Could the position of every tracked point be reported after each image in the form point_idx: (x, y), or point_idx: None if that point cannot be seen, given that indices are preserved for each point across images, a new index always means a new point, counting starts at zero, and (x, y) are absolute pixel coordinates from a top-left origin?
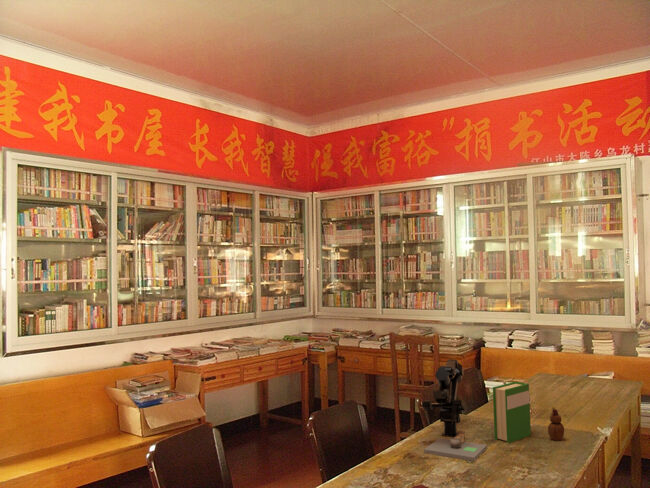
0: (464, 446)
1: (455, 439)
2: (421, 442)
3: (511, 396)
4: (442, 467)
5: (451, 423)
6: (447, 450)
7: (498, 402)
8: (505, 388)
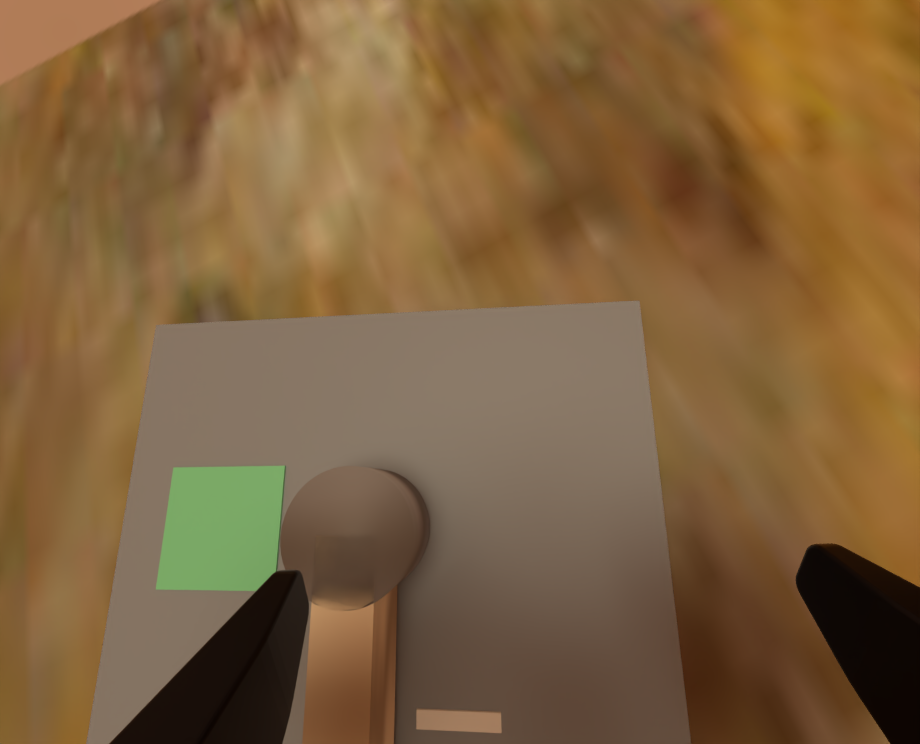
0: None
1: (340, 520)
2: None
3: None
4: (362, 110)
5: (302, 589)
6: (419, 383)
7: None
8: None
